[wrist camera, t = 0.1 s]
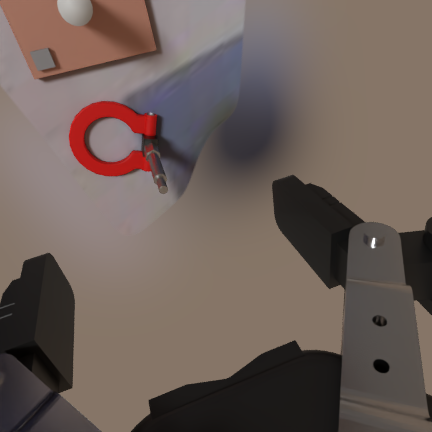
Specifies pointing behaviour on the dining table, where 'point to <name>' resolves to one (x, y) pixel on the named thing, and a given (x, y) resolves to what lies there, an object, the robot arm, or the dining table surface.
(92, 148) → the dining table surface
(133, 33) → the keeper plate
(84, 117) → the tow hook
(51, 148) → the dining table surface
